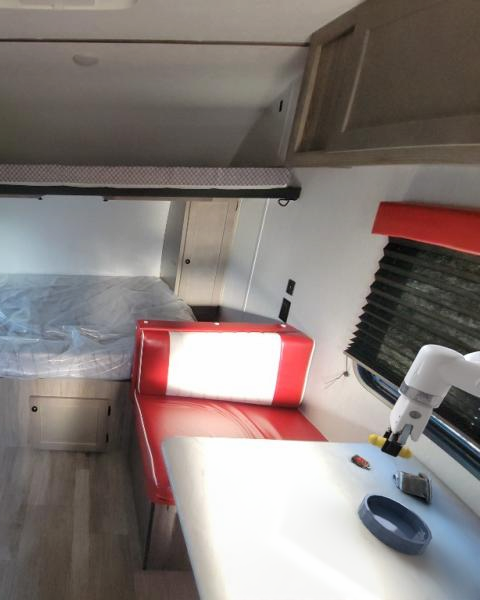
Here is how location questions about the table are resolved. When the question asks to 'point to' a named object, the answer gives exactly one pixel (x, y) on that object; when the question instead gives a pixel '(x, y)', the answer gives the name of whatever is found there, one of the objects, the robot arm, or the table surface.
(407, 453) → the yellow rounded cylinder
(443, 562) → the table surface
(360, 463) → the matchbox
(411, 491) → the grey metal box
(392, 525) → the bowl
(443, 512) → the table surface
